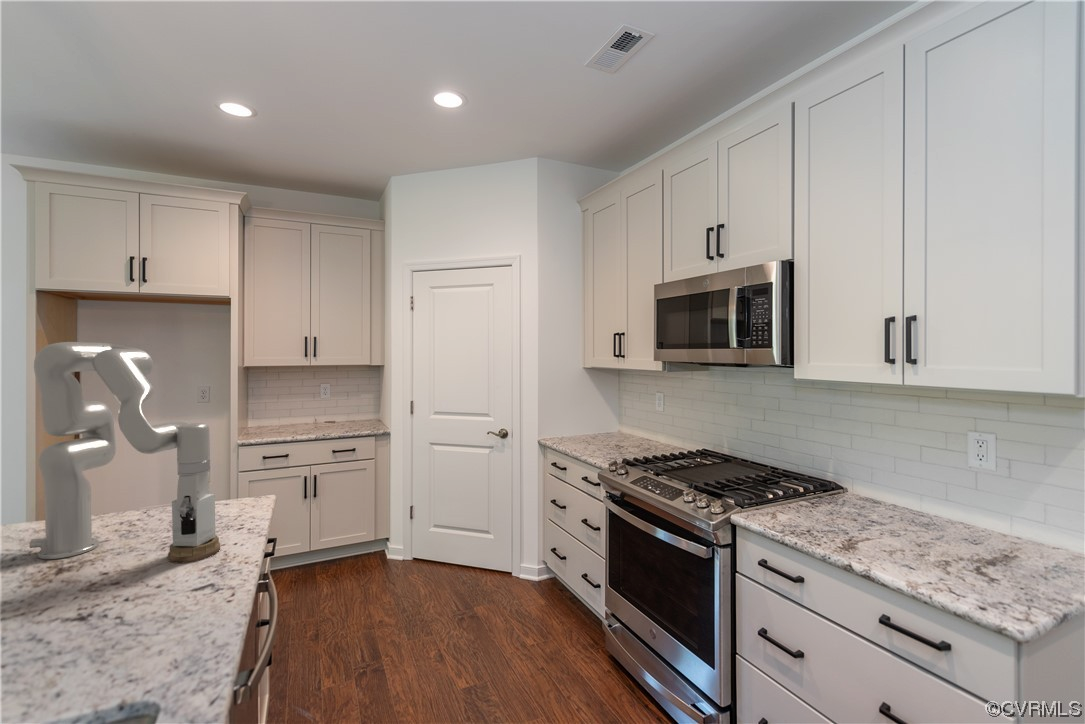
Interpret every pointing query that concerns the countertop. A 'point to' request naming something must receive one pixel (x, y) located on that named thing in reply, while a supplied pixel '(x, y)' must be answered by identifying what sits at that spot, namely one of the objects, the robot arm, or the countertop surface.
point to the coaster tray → (193, 558)
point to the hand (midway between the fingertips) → (195, 528)
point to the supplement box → (196, 523)
